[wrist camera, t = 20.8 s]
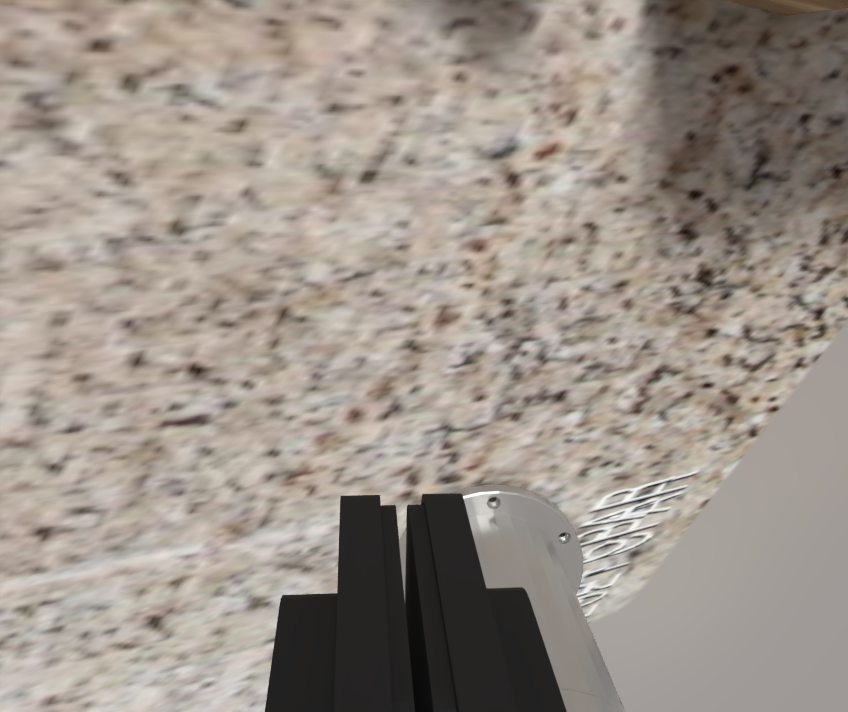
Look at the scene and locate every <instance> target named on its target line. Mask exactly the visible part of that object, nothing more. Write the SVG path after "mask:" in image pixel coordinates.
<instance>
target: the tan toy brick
mask: <svg viewBox="0 0 848 712" xmlns="http://www.w3.org/2000/svg"><path fill="white" fill-rule="evenodd" d="M725 1H729V2H734V3H738V4H742V5H746V6H750V7H755V8H759V9H763V10H767V11H771V12H776V13H780V14H784V15H793V14H801V13H809V12H817V11H825V10H833V9H841V8H848V0H725Z"/></svg>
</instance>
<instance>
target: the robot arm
mask: <svg viewBox="0 0 848 712" xmlns="http://www.w3.org/2000/svg"><path fill="white" fill-rule="evenodd" d="M492 497H494V498H492ZM582 574H583V555H582V550H581V546H580V542H579V540H578V537H577V535H576V533H575V531H574V528H573V527H572V525H571V524H570V522H569V521H568V519H567V517H566V516H565V515H564V514H563V513H562V512H561V511H560V510H559V509H558V508H557V507H556V506H555V505H554V504H553V503H551V502H550V501H548V500H547V499H545V498H544V497H542V496H541V495H539V494H536V493H534V492H531V491H529V490H526V489H523V488H518V487H513V486H508V485H482V486H476V487H469V488H466V489H463V490H460V491H456V492H453V493H450V494H423V495H422V501H421V505H408V506H407V528H406V530H405V531H404V533H403V535H402V536H401V538H400V540H399V536H398V526H397V515H396V506H395V505H384V506H380V495H361V496H341V500H340V531H339V562H338V593H336V594H306V595H283V596H282V598H281V602H280V607H279V614H278V622H277V629H276V636H275V643H274V650H273V658H272V665H271V672H270V679H269V686H268V694H267V701H266V708H265V712H625V710H624V708H623V705H622V703H621V700H620V698H619V696H618V693H617V691H616V688H615V686H614V684H613V681H612V679H611V677H610V674H609V672H608V669H607V667H606V665H605V662H604V660H603V658H602V655H601V653H600V650H599V648H598V646H597V643H596V641H595V639H594V636H593V634H592V632H591V629H590V627H589V624H588V622H587V620H586V617H585V615H584V613H583V610H582V608H581V606H580V603H579V601H578V598H577V596H576V594H577V591H578V589H579V587H580V583H581V578H582Z"/></svg>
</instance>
